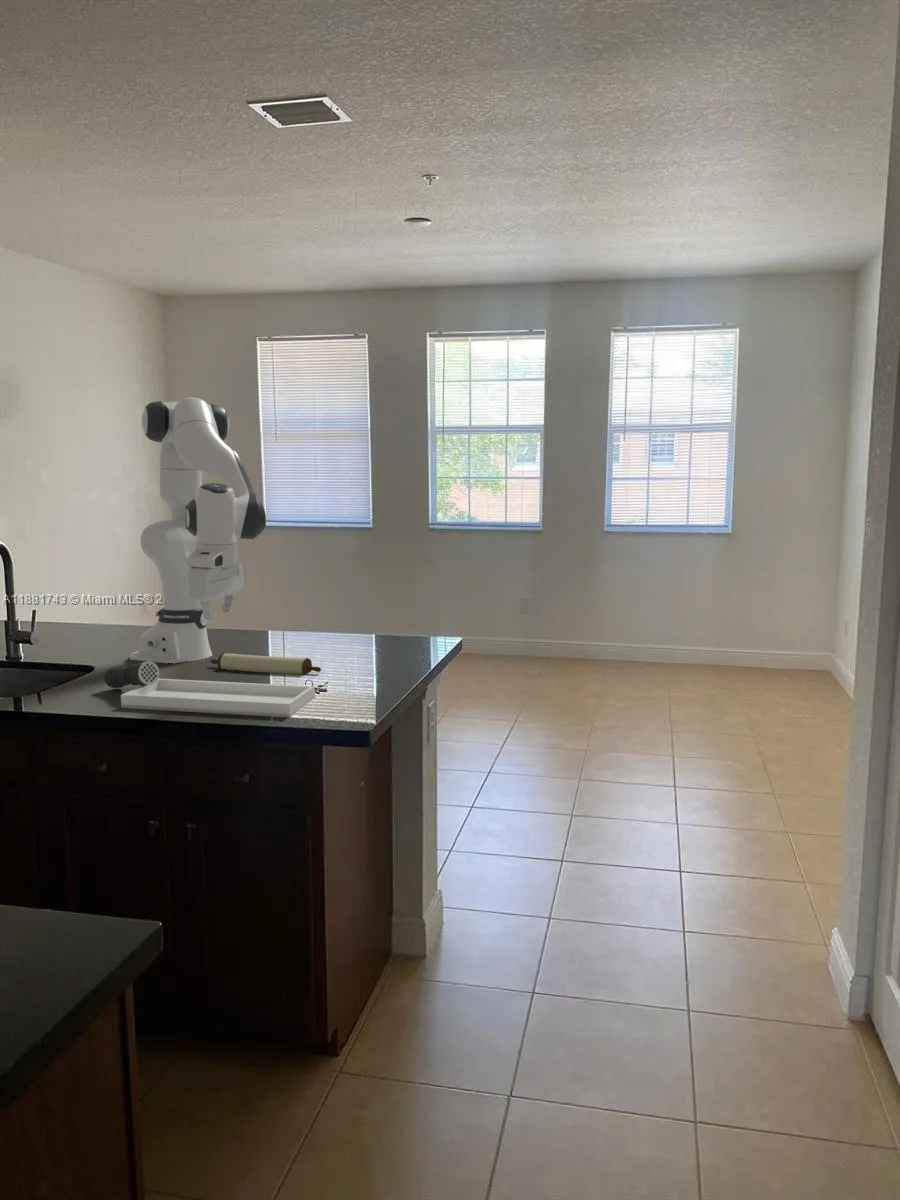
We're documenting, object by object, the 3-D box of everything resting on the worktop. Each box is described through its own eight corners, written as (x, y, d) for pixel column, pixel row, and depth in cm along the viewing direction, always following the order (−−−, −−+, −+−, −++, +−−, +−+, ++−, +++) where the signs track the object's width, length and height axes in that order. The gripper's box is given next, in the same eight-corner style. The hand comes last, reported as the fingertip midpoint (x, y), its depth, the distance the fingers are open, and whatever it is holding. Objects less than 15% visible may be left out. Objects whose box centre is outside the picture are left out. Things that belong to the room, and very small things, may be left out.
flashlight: (97, 678, 210) (111, 661, 213) (113, 693, 212) (126, 676, 216) (135, 673, 200) (148, 656, 204) (150, 689, 203) (163, 671, 207)
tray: (121, 707, 196) (120, 694, 196) (158, 690, 212) (157, 678, 211) (289, 717, 188) (289, 704, 188) (315, 698, 204) (314, 686, 204)
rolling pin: (205, 672, 232) (204, 654, 231) (216, 668, 237) (215, 650, 237) (316, 680, 223) (316, 661, 223) (325, 675, 229) (325, 656, 228)
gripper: (225, 550, 209) (226, 607, 211) (182, 559, 190) (183, 622, 192) (249, 552, 208) (250, 609, 210) (209, 561, 188) (210, 624, 190)
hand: (218, 615), depth 201 cm, fingers open, 8 cm apart
